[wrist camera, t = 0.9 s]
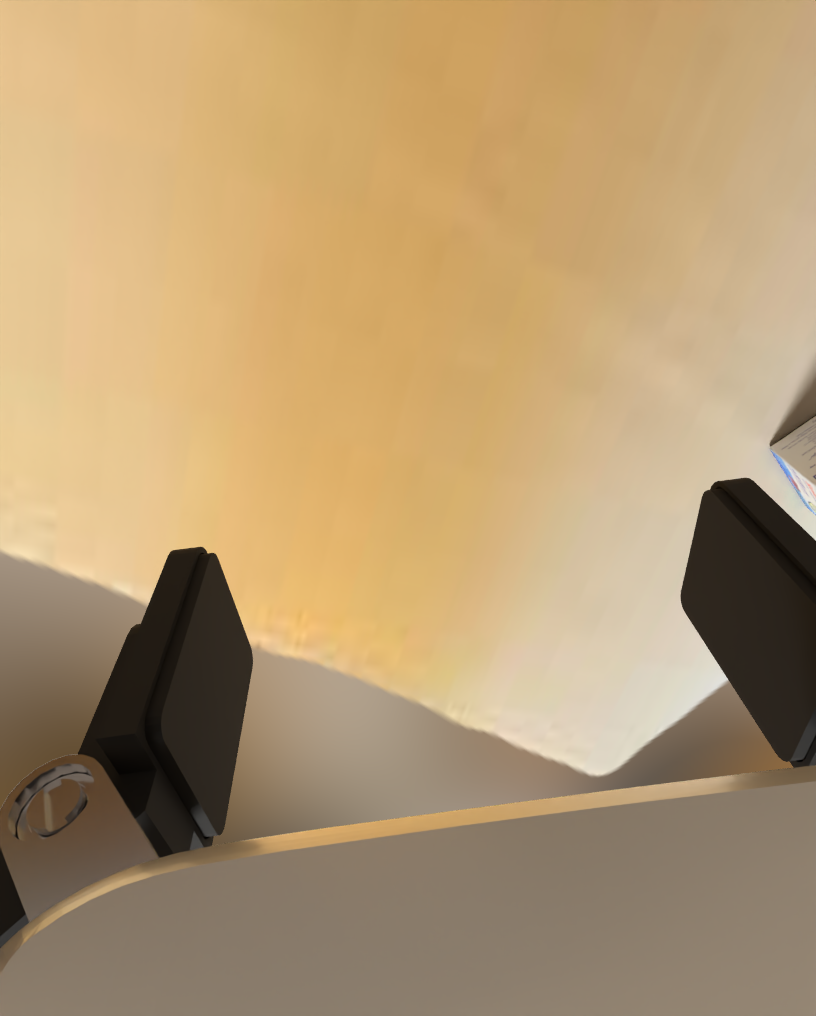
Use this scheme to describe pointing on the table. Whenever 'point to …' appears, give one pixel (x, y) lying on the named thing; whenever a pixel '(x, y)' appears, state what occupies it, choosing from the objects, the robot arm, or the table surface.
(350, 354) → the table surface
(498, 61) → the table surface
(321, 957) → the robot arm
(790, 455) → the medicine box
